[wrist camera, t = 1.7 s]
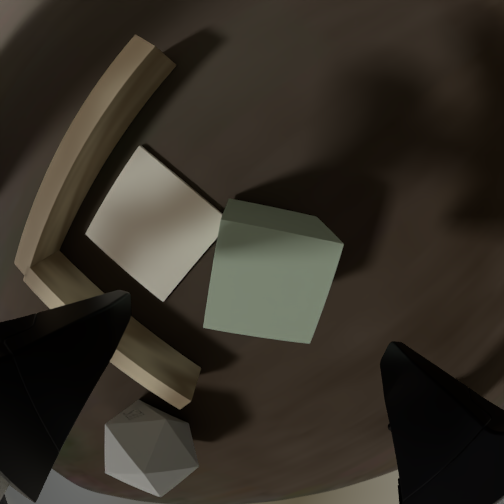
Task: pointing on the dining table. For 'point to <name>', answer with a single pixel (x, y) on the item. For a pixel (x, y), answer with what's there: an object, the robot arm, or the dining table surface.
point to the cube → (270, 272)
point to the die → (149, 449)
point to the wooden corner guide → (121, 219)
